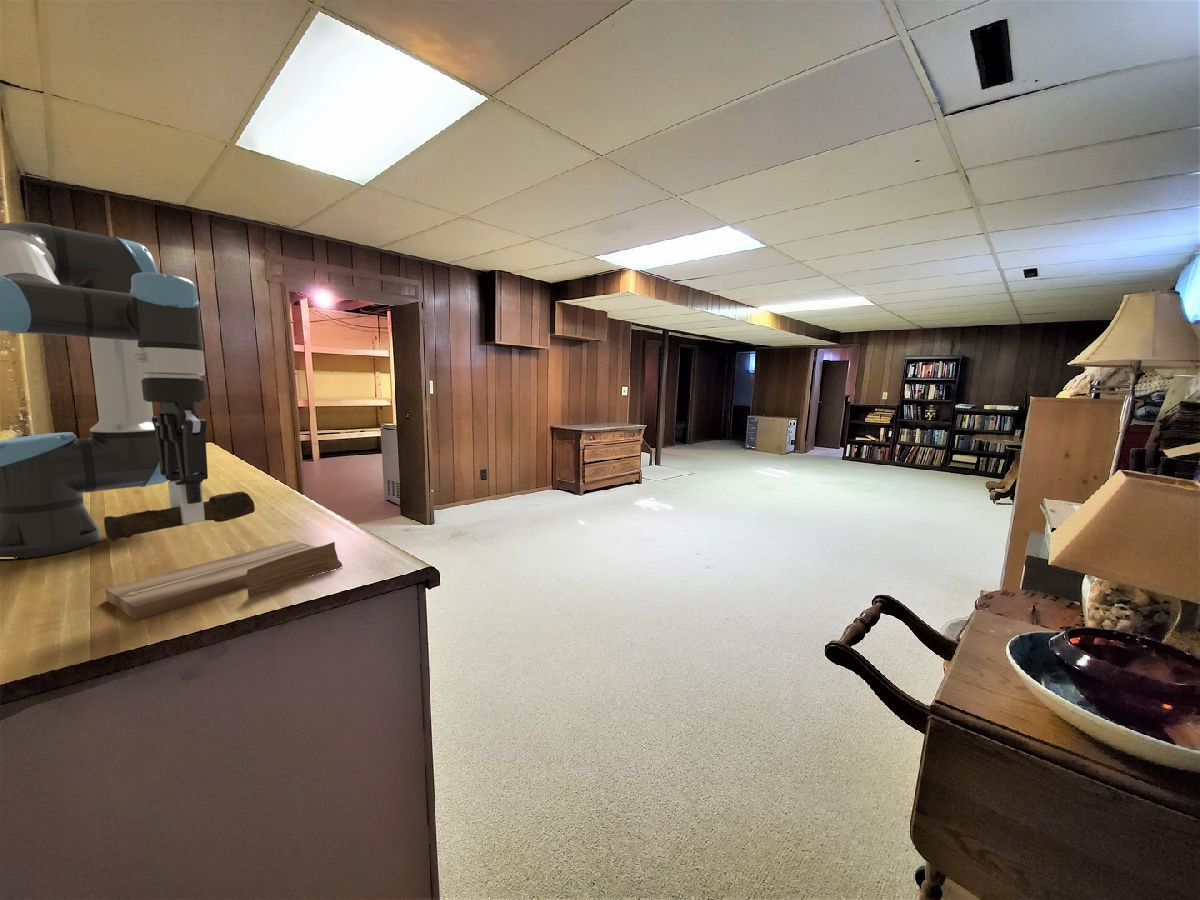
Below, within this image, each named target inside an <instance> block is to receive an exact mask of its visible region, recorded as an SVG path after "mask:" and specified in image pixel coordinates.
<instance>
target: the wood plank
mask: <svg viewBox="0 0 1200 900" xmlns="http://www.w3.org/2000/svg"><path fill="white" fill-rule="evenodd" d="M335 542H336V541H333V542H331V543H327V544H325V545H320V546H315V547H316V548H312V549H309V550H305V551H301V552H298V553H295V554H292V555H289V556H286V557H283V558H280V559H277V560H274V561H271V562H268V563H265V564H262V565H260V566H257V567H254V568H251V569H248V571H247V585H246V586H245V587H246V588H247V598H248V599H250V598H252V597H256V596H259V595H261V594H263V593H267V592H269V591H271V590H274V589H277V588H280V587H283V586H286V585H289V584H291V583H294V582H297V581H301V580H304V579H308V578H309V576H312V575H315V576H317V575H316V574H318V575H320V574H319V573H322V572H326V571H330V572H332V571H331V570H334V569H337V570H339V569H338V568H340V567H342V568H343V563H342V561H340V560H339V557H338V553H337V551H336V543H335ZM340 569H341V568H340ZM334 571H335V570H334ZM326 573H327V572H326ZM322 574H323V573H322ZM307 577H308V578H307ZM312 577H313V576H312Z"/></svg>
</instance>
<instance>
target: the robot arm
mask: <svg viewBox="0 0 1200 900" xmlns="http://www.w3.org/2000/svg"><path fill="white" fill-rule="evenodd" d="M200 306H201V305H200V301H199V299H198V294H197V286H196V285H195V283H194V282H193V281H191V280H190V279H188V278H185V277H181V276H177V275H172V274H165V273H158V268H157V264H156V263H155V260H154V258H153V256H152V253H151V252H150V250H149V249H148V248H147V247H145V245H143V244H142V243H139V242H136V241H131V240H128V239H123V238H121V237H118V236H111V235H105V234H99V233H93V232H87V231H83V230H77V229H72V228H67V227H66V228H65V227H60V226H55V225H51V224H46V223H42V222H41V223H40V222H30V221H28V222H27V221H26V222H25V221H20V222H18V221H17V222H6V223H0V332H10V333H12V334H20V335H21V334H31V335H32V334H34V335H45V336H46V335H49V336H51V335H52V336H64V337H66V336H67V337H81V338H89V347H90V355H91V363H92V371H93V380H94V381H93V382H94V389H95V397H96V407H97V414H98V422H97V423H96V424H95V425H93V426H92V427H90V428H89V437H86V438H85V437H84V438H77V435H75V433H74V432H71V431H69V432H68V431H65V432H64V431H62V432H50V433H41V434H35V435H27V436H26V435H24V436H19V437H14V438H13V437H11V438H7V439H2V440H0V557H14V558H16V557H17V558H24V559H30V557H33V558H38V557H39V558H40V557H45V556H52V555H56V554H61V553H62V554H63V553H66V552H70V551H71V552H72V551H74V550H78V549H81V548H85V547H88V546H91V545H93V544H97V543H98V542H99V541H100V540H101V533H100V527H98V525H97V523H96V522H95V521H94V519H93V517H92V516H91V514H90V513H89V511H88V510H87V508H86V507H85V503H84V494H85V493H95V492H102V491H103V492H104V491H111V490H121V489H122V490H123V489H128V488H129V489H131V488H138V487H140V488H146V487H148V486H156V485H162V484H165V483H166V482H167V485H168V486H167V487H168V496H169V505H170V507H169V508H174V507H179V506H180V507H181V517H182V524H186V525H191V524H195V523H200V521H201V522H206V521H205V516H204V506H203V502H204V498H203V497H204V495H203V487H202V482H203V481H204V480H205V481H206V480H208V477H209V475H208V473H209V471H208V456H207V440H206V439H207V438H206V431H207V424H208V422H207V420H206V419H205V418H202V419H201V418H200V419H199V415H198V413H197V411H196V406H195V403H202V402H205V401H207V399H208V395H207V394H208V393H207V385H206V383H207V382H206V381H205V380H204V379H203V378H201V376H204V375H206V369H205V357H204V350H203V347H202V343H203V342H202V331H201V322H200ZM153 403H159V409H158V410H159V411H158V413H157V415H155V416H154V411H153ZM190 523H191V524H190Z"/></svg>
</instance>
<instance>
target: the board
mask: <svg viewBox="0 0 1200 900" xmlns="http://www.w3.org/2000/svg"><path fill="white" fill-rule="evenodd" d="M316 547H317V546H314V545H311V544H307V543H304V542H301V541H298V540H295V539H293V540H290V541H284V542H282V543H277V544H275V545H274V544H273V545H271V546H267V547H262V548H258V549H255V550H251V551H247V552H246V551H245V552H243V553H239V554H235V555H231V556H227V557H223V558H220V559H215V560H211V561H208V562H204V563H203V562H202V563H200V564H196V565H192V566H189V567H183V568H181V569H177V570H176V569H175V570H173V571H169V572H168V571H167V572H165V573H160V574H157V575H153V576H149V577H146V578H142V579H141V578H140V579H137V580H134V581H129V582H127V583H122V584H118V585H113V586H111V587H106V588H105V596H106V597H105V598H106V601H107V600H108V601H110V602H111V603H112V604H111V603H110V602H109V603H110V604H111V605H113V604H114V605H115V607H116V608H117V607H118V609H119V610H120V609H121V610H120V611H122V612H123V613H124V614H126V615H128V616H129V617H131V618H133V620H135V621H138V620H141V619H145V618H147V617H151V616H154V615H157V614H160V613H164V612H169V611H170V610H173V609H178V608H180V607H183V606H186V605H191V604H192V603H193V604H194V603H196V602H199V601H202V600H206V599H209V598H212V597H215V596H216V597H217V596H219V595H222V594H225V593H229V592H232V591H235V590H238V589H241V588H245V587H246V585H247V571H248V569H251V568H254V567H257V566H260V565H262V564H265V563H268V562H271V561H274V560H277V559H280V558H283V557H286V556H289V555H292V554H295V553H298V552H301V551H305V550H309V549H312V548H316ZM108 601H107V602H108ZM114 605H113V606H114Z"/></svg>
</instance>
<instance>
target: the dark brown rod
mask: <svg viewBox="0 0 1200 900" xmlns="http://www.w3.org/2000/svg"><path fill="white" fill-rule="evenodd" d="M203 506H204V516H205V521H204V522H207V521H214V522H215V523H222V522H227V521H232V520H235V519H238V518H241V517H244V516H247V515H249V514H253V513H255V511H256V510H255V509H256V507H255V501H254V500H253V499H252V498H251V496H250V495H249V494H248V493H247V492H244V491H234V492H231V493H220V494H216V495H213V496H210V497H209V500H207V501H203ZM200 522H202V521H200ZM200 522H199V523H200ZM191 524H192V523H190V524H189V525H191ZM103 525H104V527H103V528H104V531H105V535H106V538H107V540H108V541H110V542H112V543H113V542H116V541H118V540H119V539H125V538H126V539H130V538H131V537H132V536H136V535H141V534H145V533H146V534H147V533H151V532H154V531H159V530H164V529H169V528H170V529H171V528H175V527H176V528H177V527H181V526H186V525H187V524H182V517H181V507H180V506H179V507H174V508H171V507H169V508H168V507H167V508H165V509H164V508H163V509H158V510H157V509H156V510H155V509H153V510H149V509H148V510H145V511H141V512H140V511H139V512H134V513H129V514H126V515H125V514H124V515H119V516H111V515H107V516H104V518H103Z"/></svg>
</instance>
